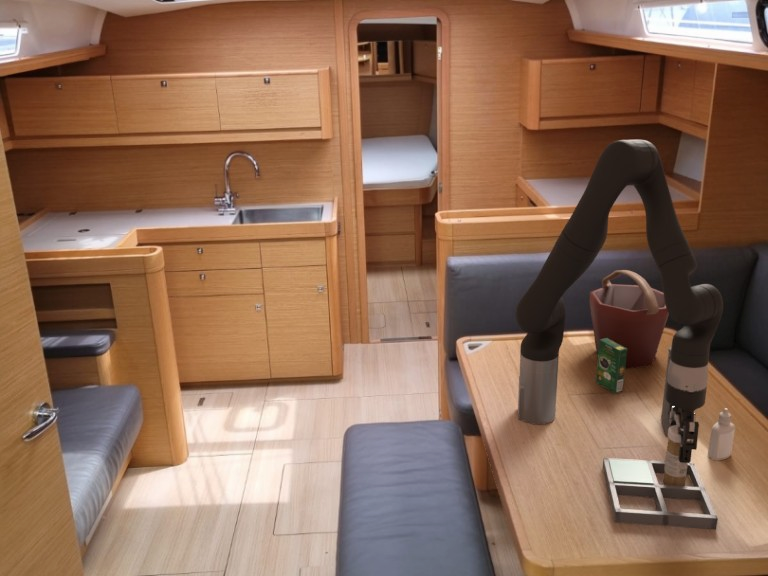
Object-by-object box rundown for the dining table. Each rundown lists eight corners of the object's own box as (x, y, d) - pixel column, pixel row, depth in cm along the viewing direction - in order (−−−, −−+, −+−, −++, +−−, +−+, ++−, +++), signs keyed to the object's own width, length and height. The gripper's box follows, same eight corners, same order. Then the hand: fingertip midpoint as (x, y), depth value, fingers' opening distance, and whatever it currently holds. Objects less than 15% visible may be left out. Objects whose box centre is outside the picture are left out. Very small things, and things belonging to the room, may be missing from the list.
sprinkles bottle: (676, 477, 157) (683, 422, 153) (689, 489, 153) (696, 433, 148) (657, 480, 156) (664, 425, 152) (670, 492, 152) (676, 437, 148)
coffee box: (624, 392, 193) (628, 347, 189) (615, 395, 192) (619, 350, 188) (603, 380, 200) (606, 336, 196) (594, 382, 199) (598, 339, 194)
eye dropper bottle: (735, 460, 162) (743, 413, 158) (710, 461, 162) (717, 414, 158) (727, 450, 166) (734, 403, 162) (702, 450, 166) (709, 404, 162)
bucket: (580, 339, 226) (585, 263, 218) (652, 338, 225) (660, 261, 217) (600, 374, 203) (606, 291, 195) (680, 373, 202) (690, 289, 194)
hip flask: (679, 440, 171) (689, 363, 164) (661, 437, 172) (670, 361, 165) (676, 407, 185) (684, 335, 178) (659, 405, 186) (667, 334, 179)
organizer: (614, 522, 144) (615, 510, 143) (602, 467, 161) (603, 456, 160) (716, 529, 141) (718, 517, 140) (692, 472, 159) (693, 461, 158)
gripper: (660, 365, 153) (653, 432, 159) (675, 396, 140) (668, 469, 146) (697, 365, 152) (689, 433, 158) (716, 398, 139) (707, 470, 144)
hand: (679, 450), depth 152 cm, fingers open, 8 cm apart
